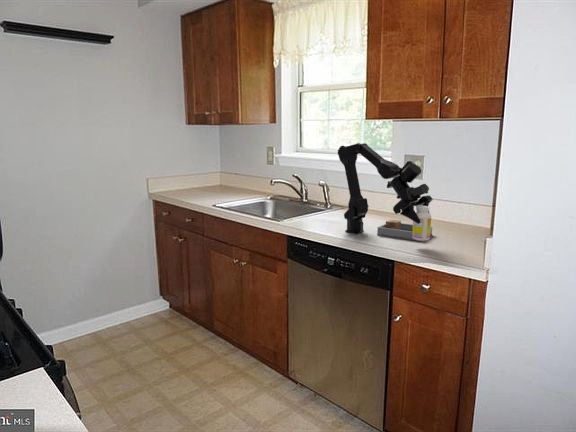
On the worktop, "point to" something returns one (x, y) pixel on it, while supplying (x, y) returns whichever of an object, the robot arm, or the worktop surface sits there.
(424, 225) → the supplement bottle
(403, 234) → the box
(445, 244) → the worktop surface
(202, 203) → the worktop surface
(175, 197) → the worktop surface
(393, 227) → the walnut cube
